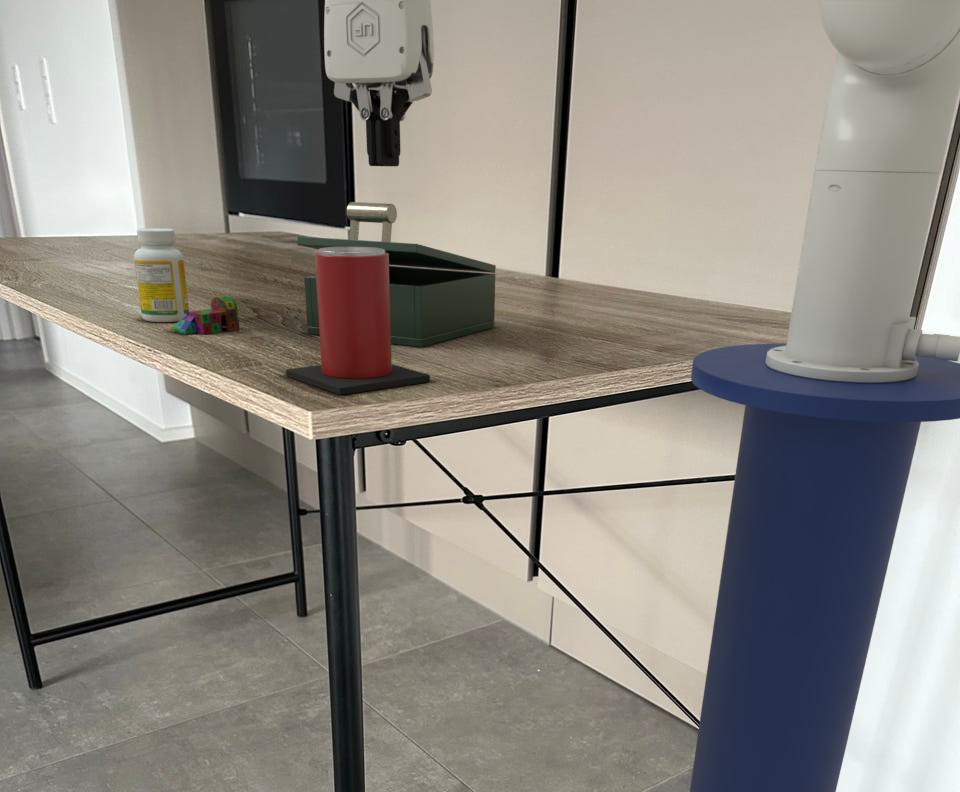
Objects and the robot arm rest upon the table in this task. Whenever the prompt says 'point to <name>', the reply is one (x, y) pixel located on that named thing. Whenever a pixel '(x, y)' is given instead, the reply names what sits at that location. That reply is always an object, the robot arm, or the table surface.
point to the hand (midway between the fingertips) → (384, 165)
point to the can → (354, 312)
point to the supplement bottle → (160, 276)
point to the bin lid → (397, 251)
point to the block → (210, 318)
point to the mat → (357, 380)
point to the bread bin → (428, 304)
